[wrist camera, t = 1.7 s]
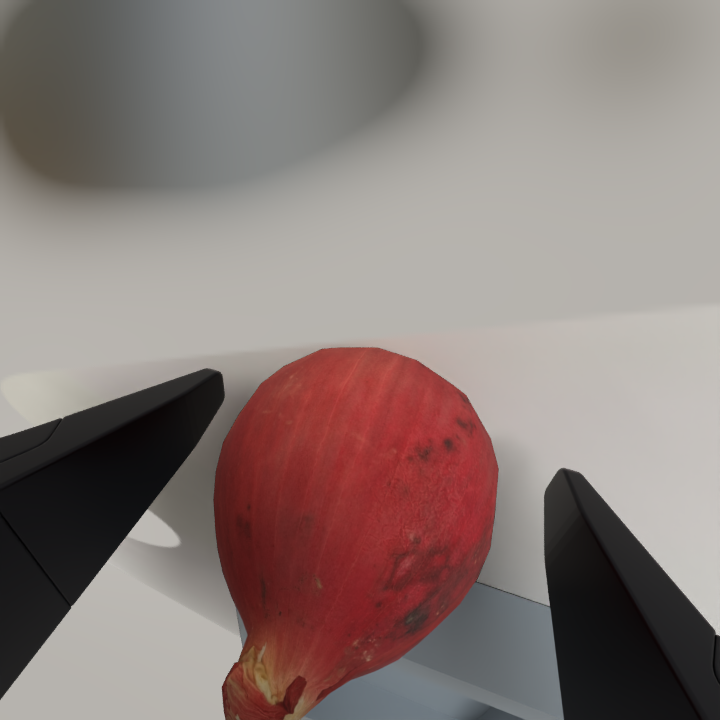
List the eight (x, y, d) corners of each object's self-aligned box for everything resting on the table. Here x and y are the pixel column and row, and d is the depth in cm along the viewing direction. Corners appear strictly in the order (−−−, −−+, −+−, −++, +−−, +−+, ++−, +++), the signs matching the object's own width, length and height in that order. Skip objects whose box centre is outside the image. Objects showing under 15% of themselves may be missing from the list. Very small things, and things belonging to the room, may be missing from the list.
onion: (495, 288, 9) (548, 751, 2) (488, 459, 12) (502, 882, 5) (283, 298, 10) (-37, 569, 4) (322, 444, 13) (173, 743, 7)
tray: (594, 622, 14) (623, 743, 12) (485, 715, 22) (486, 801, 19) (274, 513, 17) (232, 591, 14) (277, 633, 24) (251, 698, 22)
